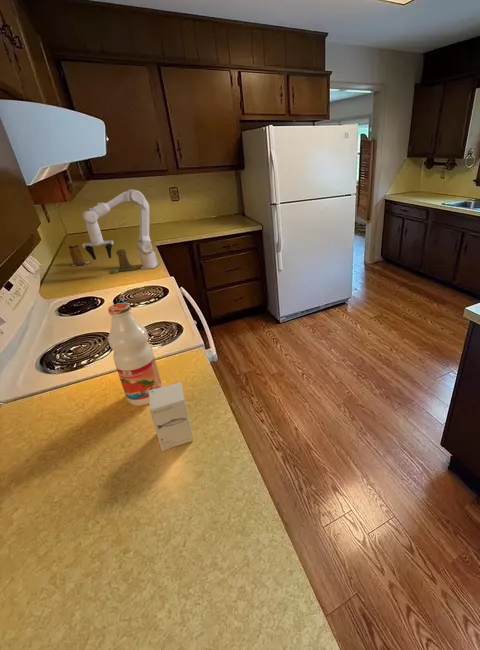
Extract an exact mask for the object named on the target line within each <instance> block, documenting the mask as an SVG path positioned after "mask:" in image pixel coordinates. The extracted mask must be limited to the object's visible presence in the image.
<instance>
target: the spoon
mask: <svg viewBox="0 0 480 650" xmlns="http://www.w3.org/2000/svg"><path fill="white" fill-rule="evenodd" d="M138 269H139V268H138V267H130V268H127V269H120V268H113V269H111V270H109V272H110V274H117V273H121V272H129V271H136V270H138Z"/></svg>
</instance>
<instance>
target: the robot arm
mask: <svg viewBox="0 0 480 650" xmlns="http://www.w3.org/2000/svg"><path fill="white" fill-rule="evenodd" d="M124 202H129V203H130V202H132V203H134V204H135V205H136V206H137V207H138V208H139V236H138V240H137V243H136V248H137V249H138V250H139V253H138V254H139V257H140V262H141V265H142V266H141V267H140V270H146V269H147V270H148V269H150V270H151V269H155V268H156V267H157V266H158V265H159V264H160V262H158V259H157V254H156V253H155V251H153V244H152V240H151V238H150V204H149V201H148V200H147V198H146V197H145V195H144V194H143V193H142V192H141V191H139V190H137V189H132V188H131V189H128V190H126V191H122V192H121V193H120V194H118V195H117V196H115V197H114V198H112V199H110V200H108V201H107V202H97V203H96V204H97V205H95V206H93V207H89V208H88V210H85V211H83V213H82V219H83V220H84V222H85V226H86V227H85V228H86V230H87V233H88V236H89V239H90V241H89V242H83V243H82V244H81V245H82V248H85V249H84V250H86V252H87V253H88V254H89V255H90V256H91V258H92V259H93V260H94V261H96V259H97V257H96V254H95V250H94V247H98V246H99V247H101V246H104V247H105V249H106V252H107V257H108V258H109V259H111V258H112V248H113V245H114V243H115V242H114V240H104V238H103V234H102V231H101V228H100V224H99V222H98V219H101V218H102V217H104V216H106V215H108V214H109V213H110V212H111V209H112V208H115V207H116V206H118V205H120V204H122V203H124Z"/></svg>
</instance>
